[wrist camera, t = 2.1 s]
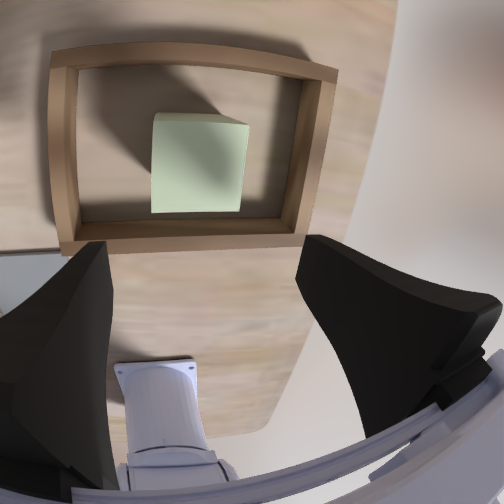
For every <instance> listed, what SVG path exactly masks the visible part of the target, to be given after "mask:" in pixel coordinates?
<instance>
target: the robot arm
mask: <svg viewBox="0 0 504 504" xmlns="http://www.w3.org/2000/svg"><path fill="white" fill-rule="evenodd" d="M295 280H296V282H297V285H298V287H299V290H300V292H301V294H302V297H303V299H304V301H305V302H306V304H307V306H308V307H309V309H310V311H311V312H312V314H313V316H314V317H315V319H316V320H317V322H318V323H319V325H320V327H321V328H322V330H323V331H324V333H325V335H326V336H327V338H328V339H329V341H330V343H331V344H332V346H333V348H334V350H335V352H336V354H337V356H338V358H339V361H340V363H341V365H342V367H343V369H344V372H345V374H346V377H347V379H348V382H349V384H350V386H351V389H352V392H353V395H354V397H355V401H356V404H357V407H358V409H359V413H360V417H361V421H362V424H363V428H364V432H365V437H366V439H365V440H362V441H360V442H358V443H356V444H354V445H351V446H348V447H346V448H344V449H341V450H338V451H336V452H333V453H331V454H328V455H325V456H322V457H320V458H317V459H314V460H311V461H308V462H305V463H302V464H299V465H296V466H292V467H288V468H285V469H281V470H278V471H274V472H270V473H266V474H263V475H258V476H254V477H249V478H245V479H239V477H238V475H237V473H236V471H235V470H234V468H233V467H232V466H231V465H230V464H229V463H227V462H226V461H225V460H223V459H218V460H217V457H216V454H215V451H213V450H211V451H209V449H208V445H207V442H206V438H205V434H204V430H203V426H202V422H201V418H200V413H199V409H198V405H197V376H196V361H195V360H194V359H184V360H171V361H157V362H139V363H117V364H115V365H114V371H115V374H116V376H117V379H118V382H119V385H120V387H121V390H122V393H123V395H124V398H125V415H126V430H127V441H128V451H129V453H128V454H127V458H128V466H127V463H120V465H119V466H118V467H117V468H116V469H115V465H114V460H113V455H112V448H111V442H110V435H109V426H108V416H107V405H106V383H105V378H106V363H107V353H108V345H109V337H110V330H111V323H112V316H113V291H114V290H113V285H112V279H111V272H110V266H109V259H108V251H107V244H106V241H89V242H88V243H87V244H86V245H85V246H83V247H82V248H81V249H80V250H79V251H78V252H77V253H76V254H75V255H74V256H73V257H72V258H71V259H70V260H69V261H68V262H67V263H66V264H65V265H64V266H63V267H62V268H61V269H60V270H59V271H58V272H57V273H56V274H55V275H53V276H52V277H51V278H50V279H49V280H48V281H47V282H46V283H45V284H44V285H43V286H42V287H41V288H39V289H38V290H37V291H36V292H35V293H34V294H32V295H31V296H30V297H29V298H27V299H26V300H25V301H24V302H22V303H21V304H20V305H18V306H17V307H16V308H14V309H13V310H11V311H10V312H8V313H7V314H6V315H4V316H3V317H1V318H0V504H262V503H266V502H270V501H274V500H277V499H281V498H284V497H288V496H291V495H294V494H297V493H300V492H303V491H306V490H309V489H312V488H315V487H317V486H320V485H323V484H325V483H327V482H330V481H333V480H335V479H338V478H340V477H342V476H345V475H347V474H349V473H352V472H354V471H356V470H358V469H360V468H363V467H364V466H367V465H369V464H370V463H373V462H375V461H377V460H379V459H380V458H383V457H385V456H386V455H388V454H390V453H392V452H394V451H395V450H397V449H399V448H401V447H402V446H404V445H406V444H408V443H409V442H410V444H409V445H408V446H407V447H405V448H404V449H402V450H401V451H400V452H399V453H398V454H397V455H396V456H395V457H393V458H392V459H391V460H389V461H388V462H387V463H385V464H384V465H383V466H381V467H380V468H378V469H377V470H376V471H374V472H372V473H371V474H369V476H368V477H369V479H370V481H371V482H370V483H368V484H367V485H365V486H363V487H361V488H358V489H356V490H354V491H352V492H350V493H348V494H346V495H344V496H341V497H339V498H337V499H334V500H332V501H330V502H328V503H325V504H500V503H499V501H498V500H497V496H498V495H499V494H500V493H501V492H502V490H503V489H504V350H503V349H499V350H498V351H497V352H496V353H494V354H493V355H492V356H491V357H490V358H489V359H488V360H487V361H485V360H484V359H483V358H482V356H483V355H484V354H485V350H484V349H483V348H482V347H481V345H482V344H483V343H484V341H485V340H486V338H487V337H488V335H489V334H490V332H491V331H492V329H493V328H494V326H495V324H496V323H497V321H498V319H499V317H500V315H501V312H502V307H503V306H502V303H501V302H500V301H499V300H498V299H497V298H496V297H494V296H492V295H490V294H485V293H478V292H471V291H464V290H459V289H454V288H450V287H446V286H443V285H438V284H435V283H432V282H429V281H426V280H422V279H419V278H416V277H414V276H411V275H409V274H406V273H403V272H401V271H398V270H396V269H394V268H391V267H389V266H387V265H385V264H383V263H380V262H378V261H376V260H374V259H372V258H370V257H368V256H366V255H364V254H362V253H360V252H358V251H356V250H354V249H352V248H350V247H348V246H346V245H344V244H342V243H340V242H338V241H335V240H333V239H331V238H328V237H326V236H323V235H306V236H305V240H304V245H303V249H302V253H301V257H300V261H299V265H298V270H297V274H296V278H295Z"/></svg>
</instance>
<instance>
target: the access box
mask: <svg viewBox="0 0 504 504" xmlns="http://www.w3.org/2000/svg"><path fill="white" fill-rule="evenodd" d="M125 65H189V66H206V67H218V68H228V69H237V70H245V71H252V72H259V73H265V74H271V75H277V76H283V77H288V78H293V79H298V80H302V81H303V84H302V91H301V97H300V104H299V110H298V117H297V123H296V129H295V135H294V141H293V148H292V154H291V160H290V166H289V172H288V177H287V183H286V189H285V195H284V201H283V206H282V212H281V218H218V219H173V220H142V221H118V222H98V223H82V220H81V212H80V203H79V192H78V179H77V160H76V105H77V87H78V74H79V69H88V68H97V67H109V66H125ZM337 77H338V69H335V68H332V67H328V66H325V65H321V64H317V63H314V62H310V61H306V60H302V59H297V58H293V57H289V56H284V55H279V54H274V53H269V52H263V51H257V50H251V49H244V48H237V47H229V46H220V45H210V44H198V43H179V42H134V43H115V44H103V45H93V46H85V47H77V48H71V49H64V50H59V51H53V52H52V55H51V64H50V75H49V88H48V114H47V133H48V159H49V173H50V184H51V194H52V202H53V209H54V216H55V223H56V229H57V234H58V240H59V245H60V250H61V255H62V256H74V255H75V254H76V253H77V252H78V251H79V250H80V249H81V248H82V247H83V246H85V245H86V244H87V243H88V242H89V241H106V244H107V251H108V254H129V253H153V252H177V251H201V250H225V249H251V248H276V247H302V246H303V245H304V240H305V236H306V235H307V234H308V230H309V225H310V221H311V216H312V212H313V207H314V202H315V198H316V193H317V188H318V183H319V178H320V173H321V168H322V163H323V158H324V153H325V148H326V142H327V137H328V131H329V126H330V120H331V114H332V108H333V102H334V96H335V90H336V84H337Z"/></svg>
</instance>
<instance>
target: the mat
mask: <svg viewBox="0 0 504 504" xmlns="http://www.w3.org/2000/svg"><path fill="white" fill-rule="evenodd" d="M68 261H69V259H68V256H62V255H61V251H49V252H29V253H11V254H0V309H1V311H2V314H3V316H4V315H6V314H7V313H8V312H10V311H11V310H13V309H14V308H16V307H17V306H18V305H20V304H21V303H22V302H24V301H25V300H26V299H27V298H29V297H30V296H31V295H32V294H34V293H35V292H36V291H37V290H38V289H39V288H41V287H42V286H43V285H44V284H45V283H46V282H47V281H48V280H49V279H50V278H51V277H52V276H53V275H55V274H56V273H57V272H58V271H59V270H60V269H61V268H62V267H63V266H64V265H65V264H66V263H67V262H68Z"/></svg>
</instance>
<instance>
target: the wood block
mask: <svg viewBox="0 0 504 504" xmlns="http://www.w3.org/2000/svg"><path fill="white" fill-rule="evenodd" d="M249 127H250V125H248V124H246V123H243V122H240V121H238V120H235V119H232V118H230V117H227V116H224V115H220V114H202V113H156V114H155V118H154V121H153V138H152V166H151V213H167V212H222V211H239V209H240V200H241V192H242V184H243V175H244V167H245V159H246V151H247V143H248V135H249Z"/></svg>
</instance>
